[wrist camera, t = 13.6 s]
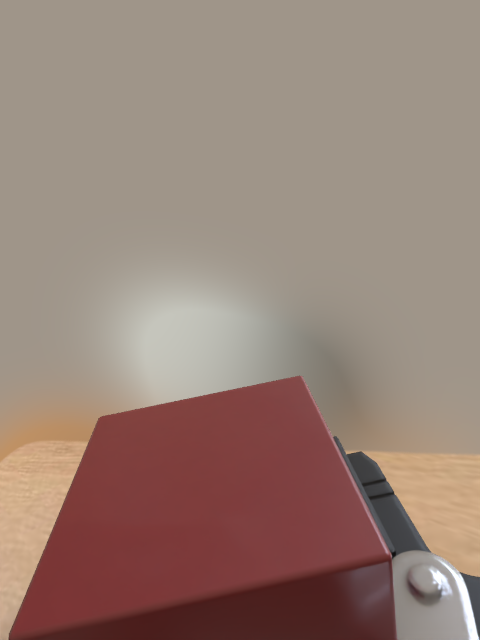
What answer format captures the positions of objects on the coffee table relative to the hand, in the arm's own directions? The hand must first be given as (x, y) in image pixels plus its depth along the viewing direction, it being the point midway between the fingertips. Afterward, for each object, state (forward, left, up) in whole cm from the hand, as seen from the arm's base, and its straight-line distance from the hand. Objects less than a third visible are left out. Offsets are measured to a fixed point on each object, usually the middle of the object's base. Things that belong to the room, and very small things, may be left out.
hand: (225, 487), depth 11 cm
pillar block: (0, +3, -6) cm, 7 cm away
